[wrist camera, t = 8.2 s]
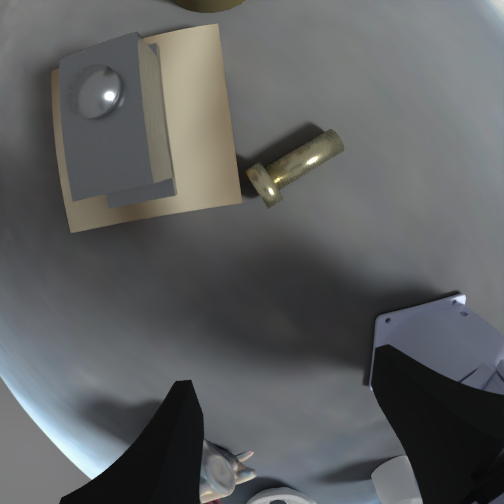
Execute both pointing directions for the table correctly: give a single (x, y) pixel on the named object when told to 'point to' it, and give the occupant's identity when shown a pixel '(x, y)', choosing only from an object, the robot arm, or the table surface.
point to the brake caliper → (221, 473)
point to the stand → (174, 134)
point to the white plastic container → (396, 482)
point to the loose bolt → (293, 166)
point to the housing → (116, 122)
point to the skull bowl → (280, 496)
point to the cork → (208, 5)
